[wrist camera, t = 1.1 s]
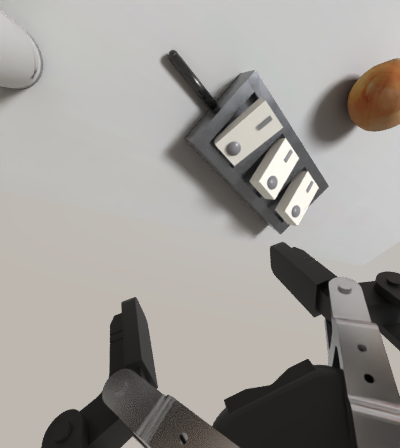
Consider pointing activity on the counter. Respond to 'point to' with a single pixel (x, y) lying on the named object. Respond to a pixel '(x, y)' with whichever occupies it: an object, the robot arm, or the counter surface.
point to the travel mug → (18, 56)
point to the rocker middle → (274, 169)
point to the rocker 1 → (248, 131)
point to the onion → (376, 97)
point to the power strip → (243, 171)
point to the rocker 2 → (297, 198)
